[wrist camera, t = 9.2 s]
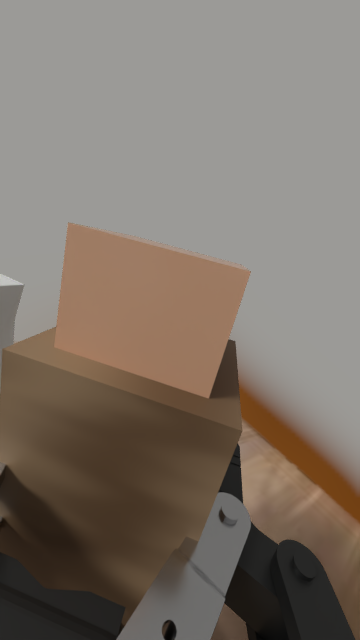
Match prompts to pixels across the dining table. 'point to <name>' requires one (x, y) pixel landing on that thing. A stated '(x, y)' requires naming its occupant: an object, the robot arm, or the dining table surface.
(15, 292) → the milk carton
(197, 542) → the robot arm
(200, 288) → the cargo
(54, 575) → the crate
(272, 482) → the dining table surface
